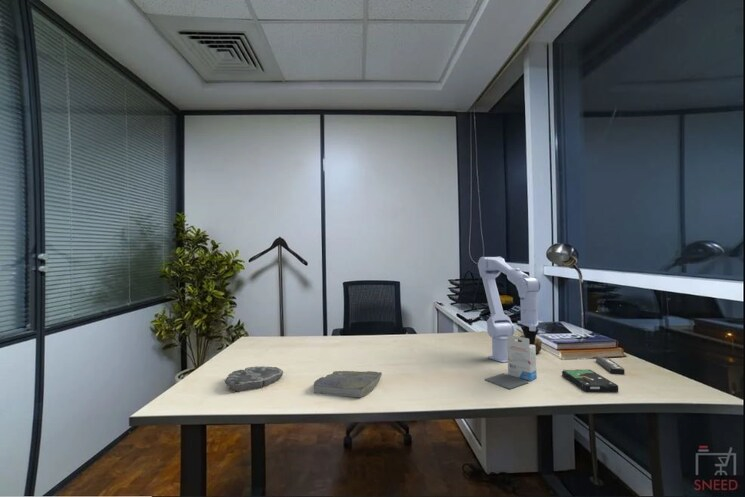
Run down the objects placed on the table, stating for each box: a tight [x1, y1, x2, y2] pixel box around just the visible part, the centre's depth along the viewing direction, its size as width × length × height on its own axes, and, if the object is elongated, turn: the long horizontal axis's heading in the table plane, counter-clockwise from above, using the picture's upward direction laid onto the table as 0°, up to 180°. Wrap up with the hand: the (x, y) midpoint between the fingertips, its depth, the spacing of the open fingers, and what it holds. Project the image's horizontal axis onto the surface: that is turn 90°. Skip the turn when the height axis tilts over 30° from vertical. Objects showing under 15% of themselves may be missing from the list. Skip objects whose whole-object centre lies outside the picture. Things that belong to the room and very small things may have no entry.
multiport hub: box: [595, 356, 626, 375], centre depth 126 cm, size 4×14×2 cm, turn 165°
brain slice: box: [224, 365, 284, 392], centre depth 116 cm, size 20×17×3 cm
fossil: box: [313, 370, 383, 398], centre depth 111 cm, size 20×5×17 cm
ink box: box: [507, 335, 538, 382], centre depth 118 cm, size 8×5×15 cm, turn 39°
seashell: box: [517, 333, 543, 354], centre depth 148 cm, size 11×9×8 cm
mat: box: [484, 373, 529, 390], centre depth 113 cm, size 10×10×1 cm
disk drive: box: [561, 369, 619, 393], centre depth 111 cm, size 10×3×15 cm
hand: (530, 346), depth 121 cm, fingers closed
